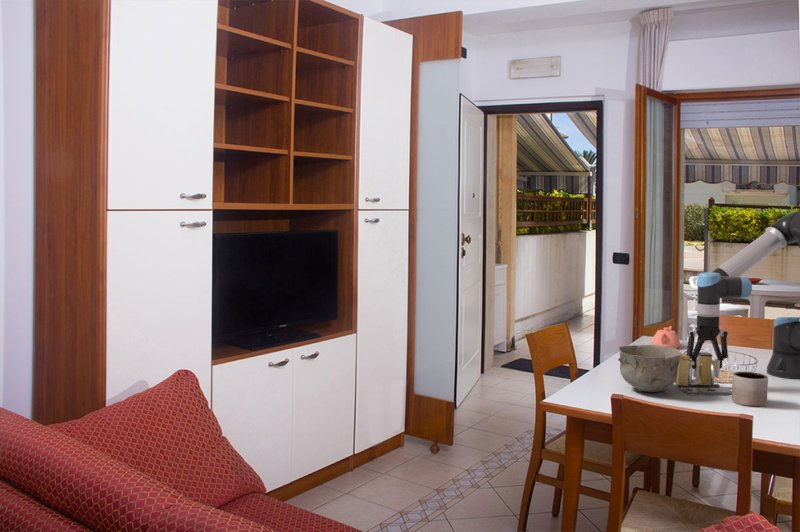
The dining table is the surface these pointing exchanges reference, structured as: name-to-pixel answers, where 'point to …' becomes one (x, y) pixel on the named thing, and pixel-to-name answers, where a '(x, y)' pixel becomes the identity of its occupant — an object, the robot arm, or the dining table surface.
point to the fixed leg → (684, 371)
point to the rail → (699, 386)
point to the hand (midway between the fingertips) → (706, 377)
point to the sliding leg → (706, 369)
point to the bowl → (649, 366)
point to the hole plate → (707, 391)
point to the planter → (749, 389)
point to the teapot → (666, 338)
